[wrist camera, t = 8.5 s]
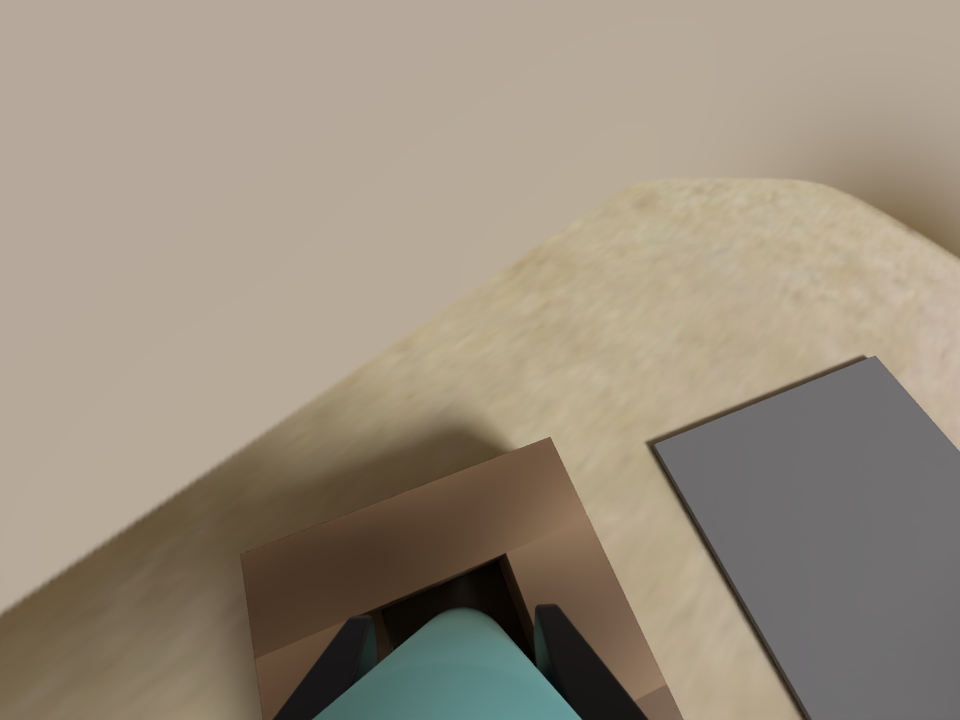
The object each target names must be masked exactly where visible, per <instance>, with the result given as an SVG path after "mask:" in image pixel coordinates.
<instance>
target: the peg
mask: <svg viewBox="0 0 960 720" xmlns="http://www.w3.org/2000/svg"><path fill="white" fill-rule="evenodd" d="M312 720H582V719H581V718H580V717H579V716H578V715H577V714H576V712H575V711H574V710H573V709H572V708H571V707H570V706H569V704H568V703H567V702H566V701H565V700H564V699H563V698H562V696H561V695H560V694H559V693H558V692H557V691H556V690H555V689H554V687H553V686H552V685H551V684H550V683H549V682H548V681H547V679H546V678H545V677H544V676H543V675H542V674H541V673H540V671H539V670H538V669H537V668H536V667H535V666H534V665H533V663H532V662H531V661H530V660H529V659H528V658H527V657H526V656H525V654H524V653H523V652H522V651H521V650H520V649H519V648H518V646H517V645H516V644H515V643H514V642H513V641H512V640H511V638H510V637H509V636H508V635H507V634H506V633H505V632H504V630H503V629H502V628H501V627H500V626H499V625H498V624H497V623H496V621H495V620H494V619H492V618H491V617H490V616H489V615H487V614H486V613H484V612H482V611H480V610H478V609H475V608H471V607H454V608H451V609H447V610H445V611H443V612H441V613H439V614H438V615H436V616H435V617H434V618H432V619H431V620H430V621H429V622H428V623H427V624H425V625H424V626H423V627H422V628H421V629H419V630H418V631H417V632H416V633H415V634H413V635H412V636H411V637H410V638H409V639H408V640H406V641H405V642H404V643H403V644H402V645H400V646H399V647H398V648H397V649H396V650H394V651H393V652H392V653H391V654H390V655H388V656H387V657H386V658H385V659H384V660H383V661H381V662H380V663H379V664H378V665H377V666H375V667H374V668H373V669H372V670H371V671H369V672H368V673H367V674H366V675H365V676H364V677H362V678H361V679H360V680H359V681H358V682H356V683H355V684H354V685H353V686H352V687H350V688H349V689H348V690H347V691H346V692H345V693H343V694H342V695H341V696H340V697H339V698H337V699H336V700H335V701H334V702H333V703H331V704H330V705H329V706H328V707H327V708H325V709H324V710H323V711H322V712H321V713H320V714H318V715H317V716H316V717H315V718H314V719H312Z"/></svg>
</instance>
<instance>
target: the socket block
mask: <svg viewBox="0 0 960 720" xmlns="http://www.w3.org/2000/svg"><path fill="white" fill-rule="evenodd" d="M240 555H241V562H242V569H243V577H244V584H245V591H246V599H247V606H248V613H249V620H250V628H251V635H252V642H253V650H254V657H255V664H256V672H257V679H258V686H259V693H260V701H261V708H262V715H263V720H272V719H273V718H274V717H275V715H276V714H277V713H278V711H279V710H280V709H281V707H282V706H283V705H284V703H285V702H286V701H287V699H288V698H289V697H290V695H291V694H292V693H293V691H294V690H295V689H296V687H297V686H298V685H299V683H300V682H301V681H302V679H303V678H304V677H305V675H306V674H307V673H308V671H309V670H310V669H311V667H312V666H313V665H314V663H315V662H316V661H317V659H318V658H319V657H320V655H321V654H322V653H323V651H324V650H325V649H326V647H327V646H328V645H329V643H330V642H331V641H332V639H333V638H334V637H335V635H336V634H337V633H338V631H339V630H340V629H341V627H342V626H343V625H344V623H345V622H346V621H347V619H348V618H350V617H351V616H361V615H370V616H372V618H373V620H374V628H375V636H376V645H377V664H376V666H377V665H378V664H379V663H380V662H381V661H383V660H384V659H385V658H386V657H387V656H388V655H390V654H391V653H392V652H391V648H390V644H389V640H388V636H387V632H386V628H385V624H384V620H383V616H382V612H381V610H383V609H385V608H388V607H390V606H393V605H395V604H397V603H400V602H402V601H404V600H407V599H409V598H411V597H414V596H416V595H418V594H421V593H423V592H425V591H428V590H430V589H432V588H435V587H437V586H440V585H442V584H444V583H447V582H449V581H451V580H454V579H456V578H458V577H461V576H463V575H465V574H468V573H470V572H472V571H475V570H477V569H479V568H482V567H484V566H486V565H489V564H491V563H494V562H496V561H498V563H499V565H500V568H501V571H502V573H503V576H504V579H505V581H506V584H507V587H508V590H509V592H510V595H511V598H512V600H513V603H514V606H515V608H516V611H517V614H518V617H519V619H520V622H521V625H522V627H523V630H524V633H525V635H526V638H527V641H528V644H529V646H530V649H531V652H532V654H533V657H534V660H535V662H536V665H537V661H536V654H535V645H534V624H535V607H536V606H537V605H538V604H552V603H554V604H557V605H558V606H559V607H560V608H561V609H562V610H563V612H564V613H565V614H566V615H567V617H568V618H569V619H570V621H571V622H572V623H573V624H574V626H575V627H576V628H577V629H578V631H579V632H580V633H581V634H582V636H583V637H584V638H585V639H586V641H587V642H588V643H589V644H590V646H591V647H592V648H593V650H594V651H595V652H596V653H597V655H598V656H599V657H600V658H601V660H602V661H603V662H604V663H605V665H606V666H607V667H608V668H609V670H610V671H611V672H612V674H613V675H614V676H615V677H616V679H617V680H618V681H619V682H620V684H621V685H622V686H623V687H624V689H625V690H626V691H627V692H628V694H629V695H630V696H631V697H632V699H633V700H634V701H635V703H636V704H637V705H638V706H639V708H640V709H641V710H642V711H643V713H644V714H645V715H646V716H647V718H648V719H649V720H683V718H682V715H681V713H680V711H679V709H678V707H677V705H676V703H675V701H674V698H673V696H672V694H671V692H670V690H669V688H668V686H667V684H666V681H665V679H664V677H663V675H662V673H661V671H660V669H659V667H658V664H657V662H656V660H655V658H654V656H653V654H652V652H651V650H650V647H649V645H648V643H647V641H646V639H645V637H644V635H643V633H642V630H641V628H640V626H639V624H638V622H637V620H636V618H635V616H634V613H633V611H632V609H631V607H630V605H629V603H628V601H627V599H626V597H625V594H624V592H623V590H622V588H621V586H620V584H619V582H618V580H617V577H616V575H615V573H614V571H613V569H612V567H611V565H610V563H609V560H608V558H607V556H606V554H605V552H604V550H603V548H602V546H601V543H600V541H599V539H598V537H597V535H596V533H595V531H594V529H593V526H592V524H591V522H590V520H589V518H588V516H587V514H586V512H585V509H584V507H583V505H582V503H581V501H580V499H579V497H578V495H577V492H576V490H575V488H574V486H573V484H572V482H571V480H570V478H569V475H568V473H567V471H566V469H565V467H564V465H563V463H562V461H561V459H560V456H559V454H558V452H557V450H556V448H555V446H554V444H553V442H552V439H551V437H548V438H546V439H543V440H540V441H538V442H535V443H533V444H530V445H527V446H525V447H522V448H519V449H517V450H514V451H512V452H509V453H506V454H504V455H501V456H498V457H496V458H493V459H490V460H488V461H485V462H483V463H480V464H477V465H475V466H472V467H469V468H467V469H464V470H461V471H459V472H456V473H454V474H451V475H448V476H446V477H443V478H440V479H438V480H435V481H432V482H430V483H427V484H425V485H422V486H419V487H417V488H414V489H411V490H409V491H406V492H403V493H401V494H398V495H396V496H393V497H390V498H388V499H385V500H382V501H380V502H377V503H374V504H372V505H369V506H367V507H364V508H361V509H359V510H356V511H353V512H351V513H348V514H345V515H343V516H340V517H338V518H335V519H332V520H330V521H327V522H324V523H322V524H319V525H316V526H314V527H311V528H309V529H306V530H303V531H301V532H298V533H295V534H293V535H290V536H288V537H285V538H282V539H280V540H277V541H274V542H272V543H269V544H266V545H264V546H261V547H259V548H256V549H253V550H251V551H248V552H245V553H243V554H240Z"/></svg>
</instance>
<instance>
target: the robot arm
mask: <svg viewBox="0 0 960 720" xmlns="http://www.w3.org/2000/svg"><path fill="white" fill-rule="evenodd" d="M534 645H535V654H536V661H537V668H538V670H539V671H540V673H541V674H542V675H543V676H544V677H545V678H546V679H547V681H548V682H549V683H550V684H551V685H552V686H553V687H554V689H555V690H556V691H557V692H558V693H559V694H560V695H561V696H562V698H563V699H564V700H565V701H566V702H567V703H568V704H569V706H570V707H571V708H572V709H573V710H574V711H575V712H576V714H577V715H578V716H579V717H580V718H581V719H582V720H649V719H648V718H647V716H646V715H645V714H644V713H643V711H642V710H641V709H640V708H639V706H638V705H637V704H636V703H635V701H634V700H633V699H632V697H631V696H630V695H629V694H628V692H627V691H626V690H625V689H624V687H623V686H622V685H621V684H620V682H619V681H618V680H617V679H616V677H615V676H614V675H613V674H612V672H611V671H610V670H609V668H608V667H607V666H606V665H605V663H604V662H603V661H602V660H601V658H600V657H599V656H598V655H597V653H596V652H595V651H594V650H593V648H592V647H591V646H590V644H589V643H588V642H587V641H586V639H585V638H584V637H583V636H582V634H581V633H580V632H579V631H578V629H577V628H576V627H575V626H574V624H573V623H572V622H571V621H570V619H569V618H568V617H567V615H566V614H565V613H564V612H563V610H562V609H561V608H560V607H559V606H558V605H557V604H554V603H552V604H538V605H537V606H536V607H535V624H534ZM376 664H377V645H376V636H375V628H374V620H373V618H372V616H370V615H361V616H351V617H350V618H348V619H347V621H346V622H345V623H344V625H343V626H342V627H341V629H340V630H339V631H338V633H337V634H336V635H335V637H334V638H333V639H332V641H331V642H330V643H329V645H328V646H327V647H326V649H325V650H324V651H323V653H322V654H321V655H320V657H319V658H318V659H317V661H316V662H315V663H314V665H313V666H312V667H311V669H310V670H309V671H308V673H307V674H306V675H305V677H304V678H303V679H302V681H301V682H300V683H299V685H298V686H297V687H296V689H295V690H294V691H293V693H292V694H291V695H290V697H289V698H288V699H287V701H286V702H285V703H284V705H283V706H282V707H281V709H280V710H279V711H278V713H277V714H276V715H275V717H274V718H273V719H272V720H312V719H314V718H315V717H316V716H317V715H318V714H320V713H321V712H322V711H323V710H324V709H325V708H327V707H328V706H329V705H330V704H331V703H333V702H334V701H335V700H336V699H337V698H339V697H340V696H341V695H342V694H343V693H345V692H346V691H347V690H348V689H349V688H350V687H352V686H353V685H354V684H355V683H356V682H358V681H359V680H360V679H361V678H362V677H364V676H365V675H366V674H367V673H368V672H369V671H371V670H372V669H373V668H374V667H375V666H376Z"/></svg>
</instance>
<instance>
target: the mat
mask: <svg viewBox="0 0 960 720" xmlns="http://www.w3.org/2000/svg"><path fill="white" fill-rule="evenodd" d="M652 448H653V450H654V452H655V453H656V455H657V457H658V459H659V460H660V462H661V464H662V466H663V467H664V469H665V471H666V473H667V474H668V476H669V478H670V480H671V481H672V483H673V485H674V487H675V489H676V490H677V492H678V494H679V496H680V497H681V499H682V501H683V503H684V504H685V506H686V508H687V510H688V511H689V513H690V515H691V517H692V518H693V520H694V522H695V524H696V525H697V527H698V529H699V531H700V532H701V534H702V536H703V538H704V539H705V541H706V543H707V545H708V546H709V548H710V550H711V552H712V554H713V555H714V557H715V559H716V561H717V562H718V564H719V566H720V568H721V569H722V571H723V573H724V575H725V576H726V578H727V580H728V582H729V583H730V585H731V587H732V589H733V590H734V592H735V594H736V596H737V597H738V599H739V601H740V603H741V604H742V606H743V608H744V610H745V611H746V613H747V615H748V617H749V619H750V620H751V622H752V624H753V626H754V627H755V629H756V631H757V633H758V634H759V636H760V638H761V640H762V641H763V643H764V645H765V647H766V648H767V650H768V652H769V654H770V655H771V657H772V659H773V661H774V662H775V664H776V666H777V668H778V669H779V671H780V673H781V675H782V676H783V678H784V680H785V682H786V684H787V685H788V687H789V689H790V691H791V692H792V694H793V696H794V698H795V699H796V701H797V703H798V705H799V706H800V708H801V710H802V712H803V713H804V715H805V717H806V719H807V720H960V451H959V450H958V449H957V448H956V447H955V446H954V445H953V443H952V442H951V441H950V440H949V439H948V438H947V437H946V435H945V434H944V433H943V432H942V431H941V430H940V429H939V428H938V426H937V425H936V424H935V423H934V422H933V421H932V420H931V418H930V417H929V416H928V415H927V414H926V413H925V412H924V410H923V409H922V408H921V407H920V406H919V405H918V404H917V402H916V401H915V400H914V399H913V398H912V397H911V396H910V394H909V393H908V392H907V391H906V390H905V389H904V388H903V386H902V385H901V384H900V383H899V382H898V381H897V380H896V378H895V377H894V376H893V375H892V374H891V373H890V372H889V371H888V369H887V368H886V367H885V366H884V365H883V364H882V363H881V361H880V360H879V359H878V358H877V357H876V356H873V357H870V358H868V359H865V360H863V361H860V362H858V363H855V364H853V365H850V366H848V367H845V368H843V369H840V370H838V371H835V372H833V373H830V374H828V375H825V376H823V377H820V378H818V379H815V380H813V381H810V382H808V383H805V384H803V385H801V386H798V387H796V388H793V389H791V390H788V391H786V392H783V393H781V394H778V395H776V396H773V397H771V398H768V399H766V400H763V401H761V402H758V403H756V404H753V405H751V406H748V407H746V408H743V409H741V410H738V411H736V412H733V413H731V414H728V415H726V416H723V417H721V418H718V419H716V420H713V421H711V422H708V423H706V424H703V425H701V426H699V427H696V428H694V429H691V430H689V431H686V432H684V433H681V434H679V435H676V436H674V437H671V438H669V439H666V440H664V441H661V442H659V443H656V444H654V445H653V446H652Z"/></svg>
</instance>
